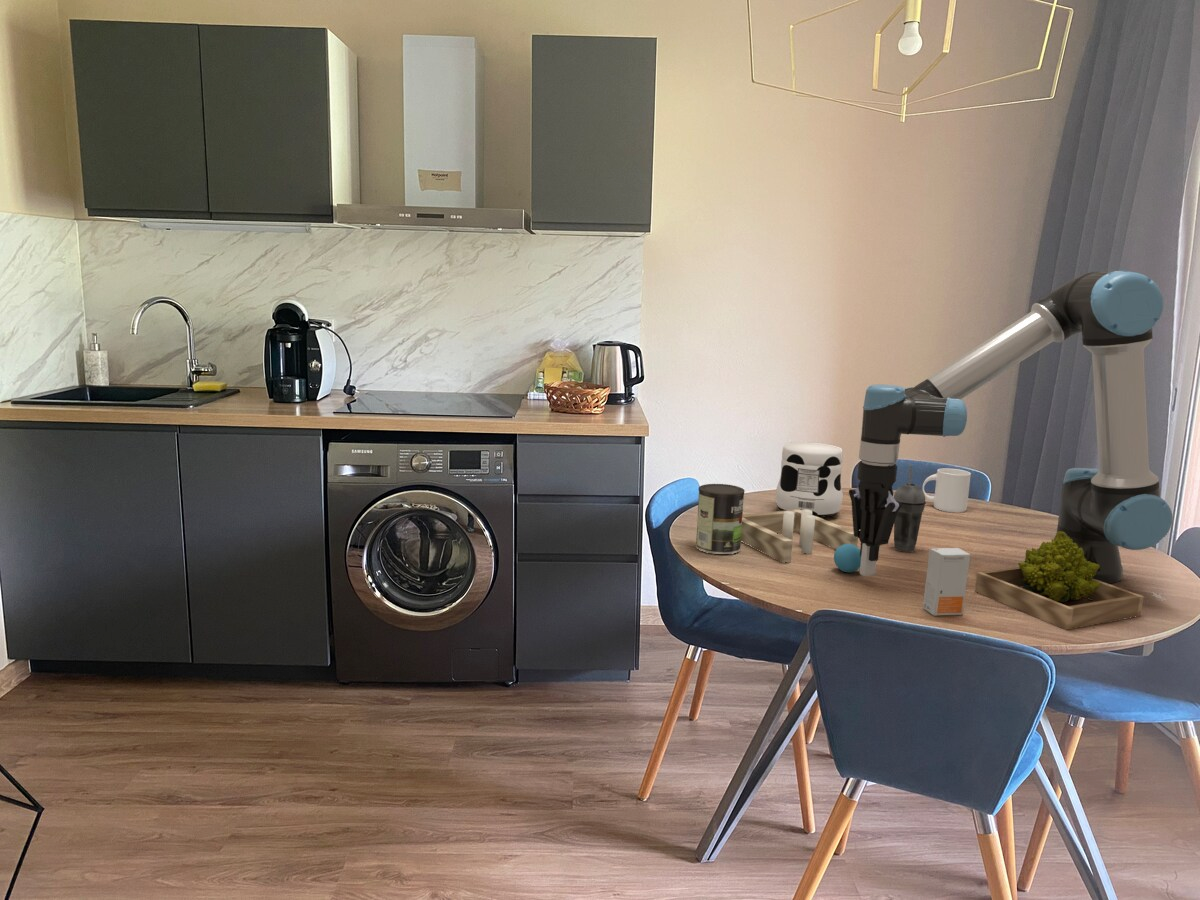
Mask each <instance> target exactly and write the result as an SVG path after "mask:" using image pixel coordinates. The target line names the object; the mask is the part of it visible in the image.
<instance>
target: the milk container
mask: <svg viewBox="0 0 1200 900" xmlns="http://www.w3.org/2000/svg"><path fill="white" fill-rule="evenodd" d="M843 458H844V454H843V449H842V448H841V447H840V446H837V445H834V444H829V443H823V442H822V443H821V442H812V441H811V442H810V441H793V442H787V443H785V444H783V446H782V452H781V462H780V463H781V464H780V465H781V466H780V476H779V477H780V478H779V481H778V482H777V483H778V484H777V486H776V489H775V502H776V505H777V507H778V508H779V509H780V511H787V510H798V509H799V510H804V509H807V510H812V515H814V516H817V517H819V518H827V517H832V516H835V515H836V514H837V513H839V512H840V510H841V508H842V505H843V499H844V498H843V496H844V495H843V490H842V489H843V488H842V483H841V477H842V468H843V460H844V459H843Z"/></svg>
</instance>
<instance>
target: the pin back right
mask: <svg viewBox="0 0 1200 900" xmlns="http://www.w3.org/2000/svg"><path fill="white" fill-rule="evenodd" d="M804 515H812V510H807V509H804V510H802V513H801V526H800V533H799V539H798V540H799V541H798V547H800V548H802V538H803V525H804Z"/></svg>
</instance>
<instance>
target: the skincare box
mask: <svg viewBox="0 0 1200 900" xmlns="http://www.w3.org/2000/svg"><path fill="white" fill-rule="evenodd" d="M970 560H971V554H970V553H968V552H967V551H965V550H963V549H961V548H960V547H942V548H941V547H940V548H929V552H928V561H927V562H928V563H927V569H926V577H925V578H926V579H925V585H924V586H925V587H924V594H923V595H924V596H923V603H922V609H924V610H925V611H927V612H928V613H930V614H931V615H932V616H935V617H936V616H963V614H964V606H965V598H966V592H967V591H966V590H967V584H968V575H969V568H970V562H971V561H970Z"/></svg>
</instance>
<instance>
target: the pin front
mask: <svg viewBox="0 0 1200 900" xmlns="http://www.w3.org/2000/svg"><path fill="white" fill-rule="evenodd" d="M814 525H815V516H813V515H804V525H803V538H802V547H801V552H800V553H802V554H804V553H806V554H805V555H812V554H813V549H814V548H813V547H814V540H813V537H814ZM811 553H812V554H811Z"/></svg>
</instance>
